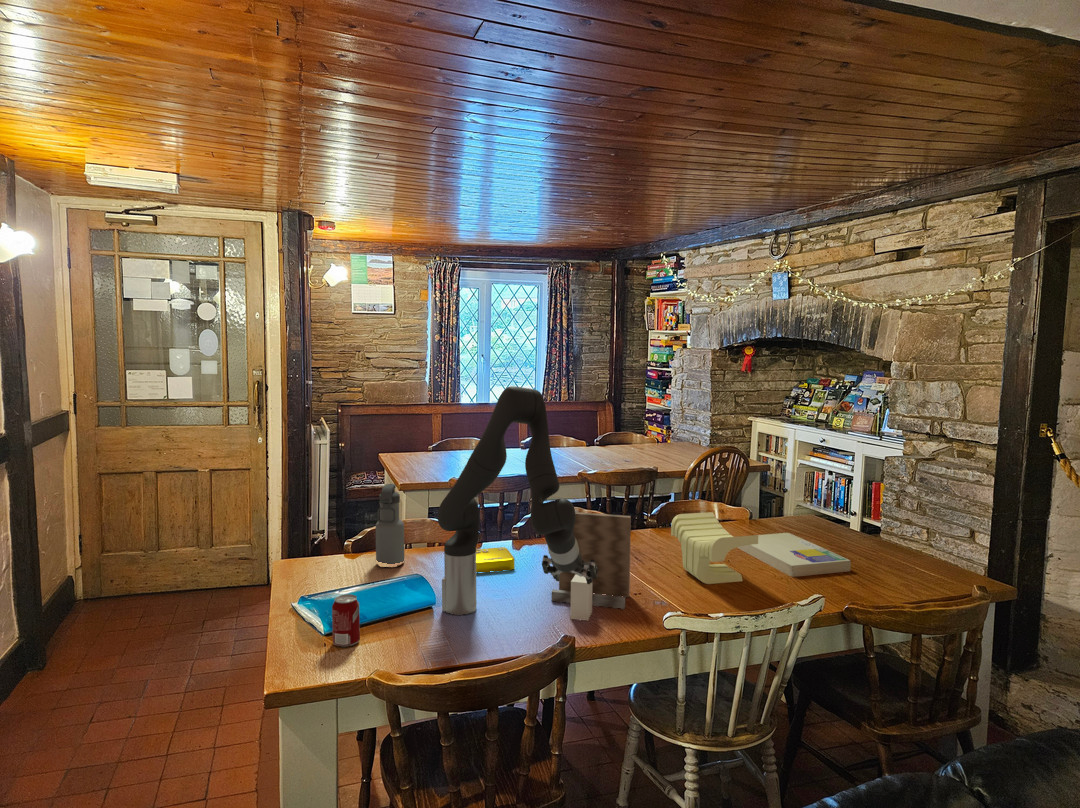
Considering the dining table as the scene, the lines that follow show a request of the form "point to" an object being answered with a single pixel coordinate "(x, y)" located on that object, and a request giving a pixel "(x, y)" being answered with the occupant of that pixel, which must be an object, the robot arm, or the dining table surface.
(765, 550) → the puzzle box
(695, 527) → the slatted curved stool
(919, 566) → the dining table surface
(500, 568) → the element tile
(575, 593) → the beige rectangular block
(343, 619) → the soda can
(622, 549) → the wall board
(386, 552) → the water bottle
